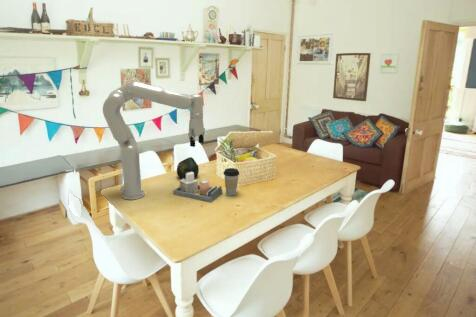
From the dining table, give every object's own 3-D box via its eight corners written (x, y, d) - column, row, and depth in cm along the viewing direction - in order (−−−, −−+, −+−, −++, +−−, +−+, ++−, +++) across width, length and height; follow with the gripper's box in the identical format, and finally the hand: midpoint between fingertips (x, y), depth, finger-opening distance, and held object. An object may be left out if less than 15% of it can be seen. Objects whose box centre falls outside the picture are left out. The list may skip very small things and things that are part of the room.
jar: (198, 195, 189) (197, 182, 187) (202, 192, 194) (202, 179, 191) (206, 197, 187) (206, 183, 184) (210, 194, 192) (210, 180, 189)
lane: (173, 194, 191) (172, 186, 189) (186, 186, 203) (185, 178, 202) (211, 202, 181) (211, 194, 180) (222, 193, 193) (222, 185, 192)
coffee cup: (229, 198, 187) (229, 174, 183) (220, 192, 194) (220, 169, 190) (242, 194, 192) (242, 171, 188) (233, 189, 200) (233, 166, 195)
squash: (169, 169, 216) (179, 156, 208) (185, 164, 228) (195, 152, 220) (180, 186, 213) (191, 173, 204) (196, 180, 225) (207, 168, 216)
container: (180, 191, 195) (179, 171, 191) (190, 188, 200) (190, 168, 196) (187, 195, 189) (186, 175, 186) (197, 192, 194) (197, 172, 190)
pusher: (206, 200, 184) (206, 192, 182) (215, 193, 194) (215, 185, 192) (208, 200, 184) (208, 192, 182) (216, 193, 193) (217, 185, 192)
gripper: (198, 113, 195) (199, 140, 200) (182, 117, 180) (183, 147, 185) (209, 114, 193) (209, 142, 198) (194, 119, 177) (194, 148, 182)
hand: (197, 144), depth 191 cm, fingers open, 9 cm apart
